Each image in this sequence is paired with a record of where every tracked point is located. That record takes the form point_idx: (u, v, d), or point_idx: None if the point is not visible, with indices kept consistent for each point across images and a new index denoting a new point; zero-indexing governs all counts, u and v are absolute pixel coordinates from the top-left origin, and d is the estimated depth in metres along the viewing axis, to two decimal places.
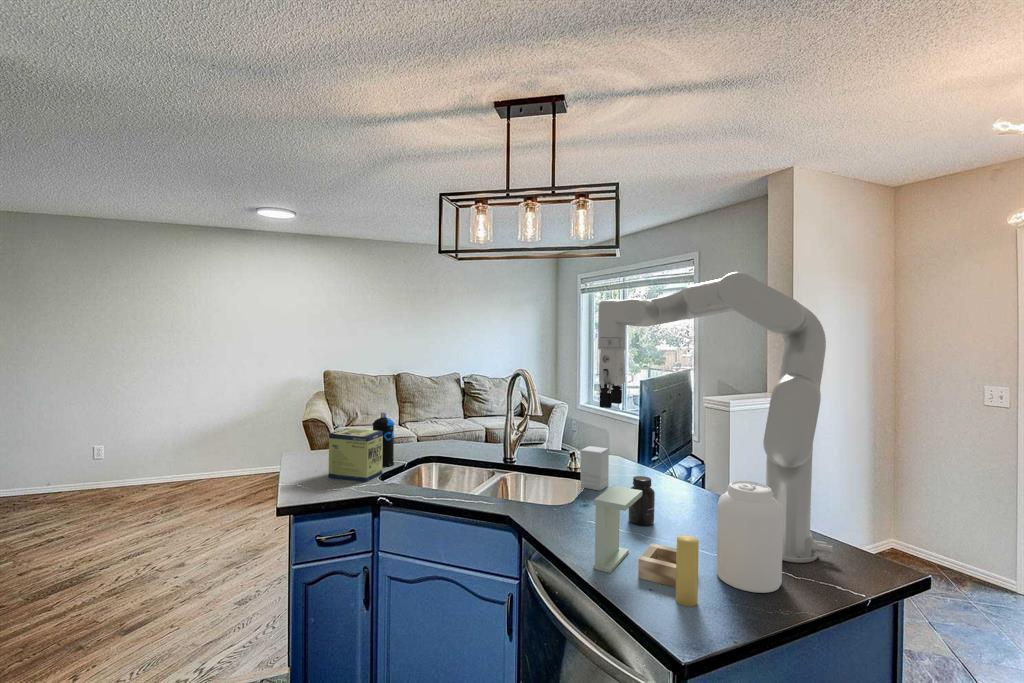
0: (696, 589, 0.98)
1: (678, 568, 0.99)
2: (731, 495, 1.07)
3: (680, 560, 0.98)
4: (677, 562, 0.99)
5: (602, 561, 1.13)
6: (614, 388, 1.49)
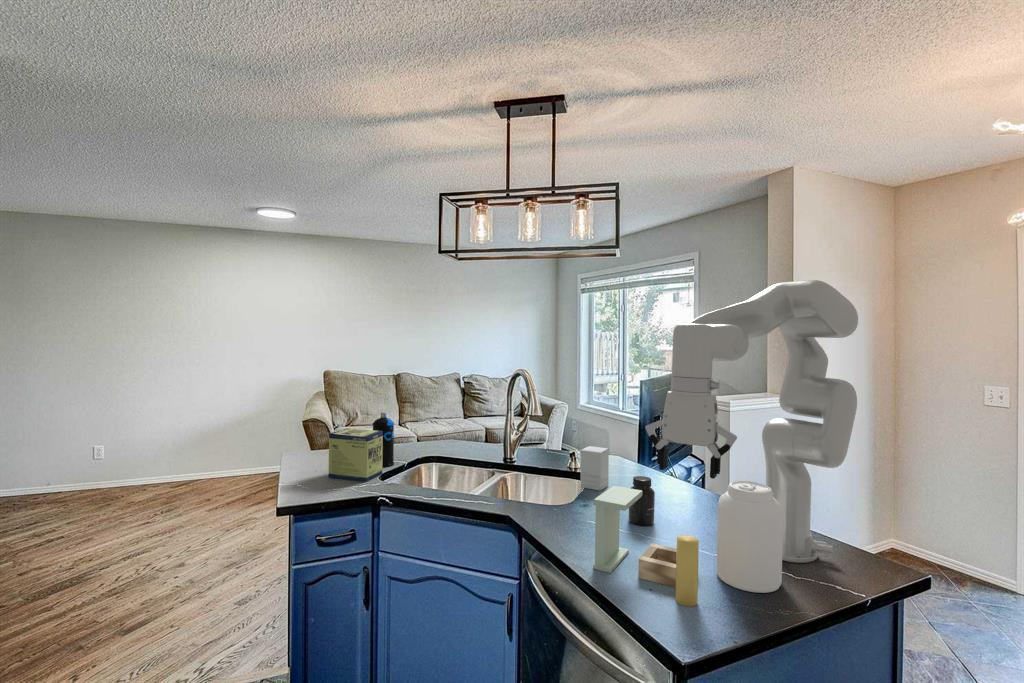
0: (696, 589, 0.98)
1: (678, 568, 0.99)
2: (731, 495, 1.07)
3: (680, 560, 0.98)
4: (677, 562, 0.99)
5: (602, 561, 1.13)
6: (664, 448, 1.04)
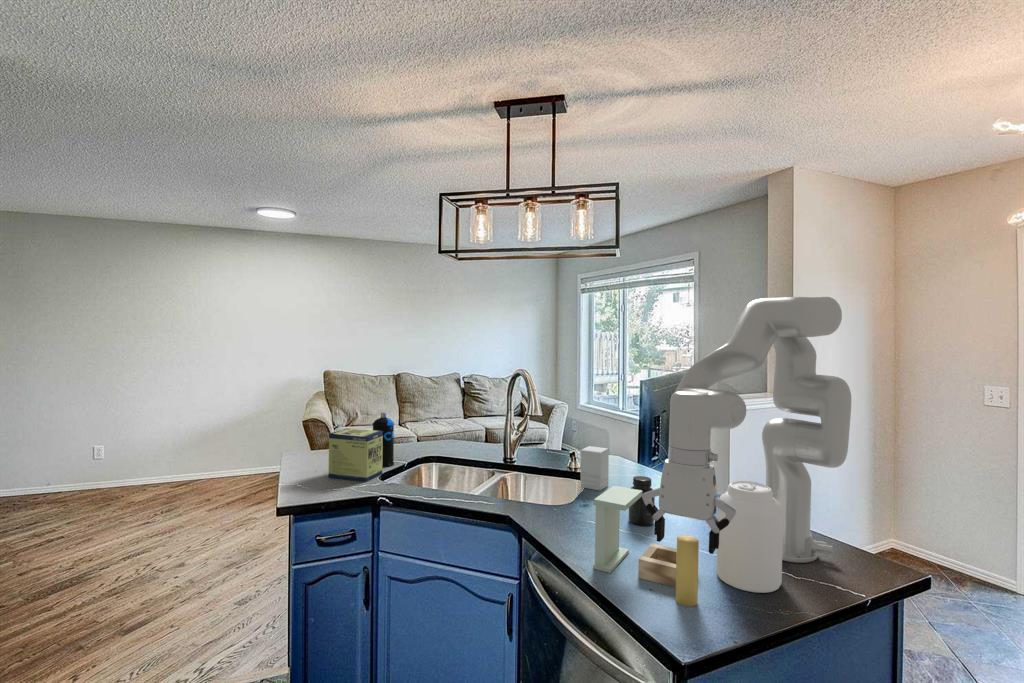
0: (696, 589, 0.98)
1: (678, 568, 0.99)
2: (731, 495, 1.07)
3: (680, 560, 0.98)
4: (677, 562, 0.99)
5: (602, 561, 1.13)
6: (661, 518, 1.01)
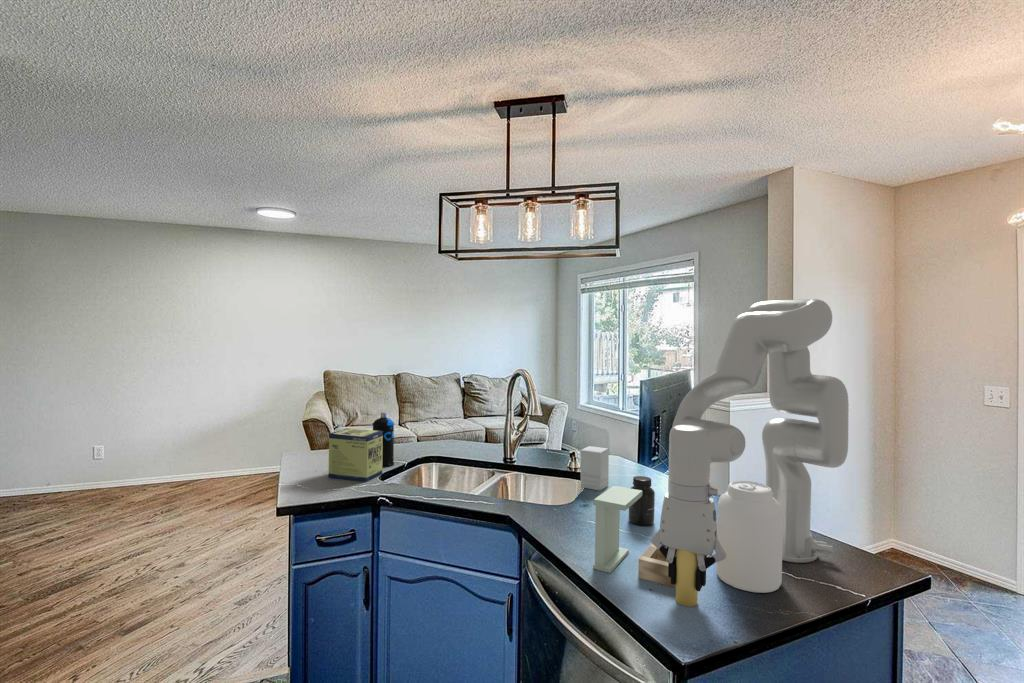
0: None
1: (678, 568, 0.99)
2: (731, 495, 1.08)
3: (680, 560, 0.98)
4: (677, 562, 0.99)
5: (602, 561, 1.13)
6: (675, 561, 1.00)
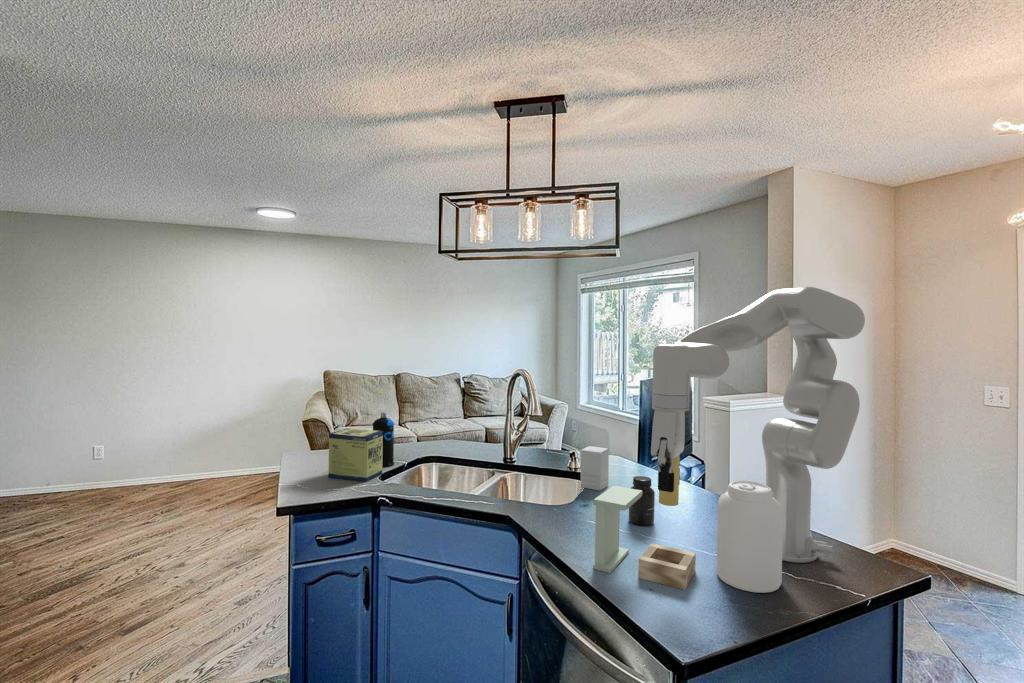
0: None
1: (675, 474, 1.08)
2: (731, 495, 1.07)
3: (676, 465, 1.08)
4: (673, 469, 1.08)
5: (602, 561, 1.13)
6: None
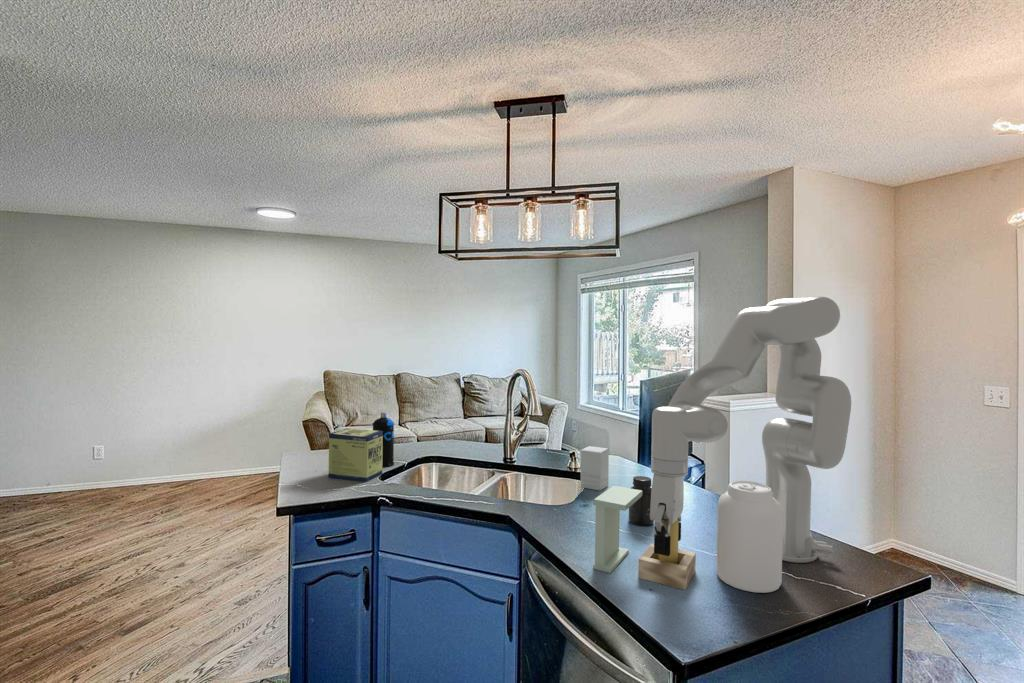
0: None
1: (674, 547, 1.09)
2: (731, 495, 1.07)
3: (675, 538, 1.09)
4: (672, 542, 1.09)
5: (602, 561, 1.13)
6: None
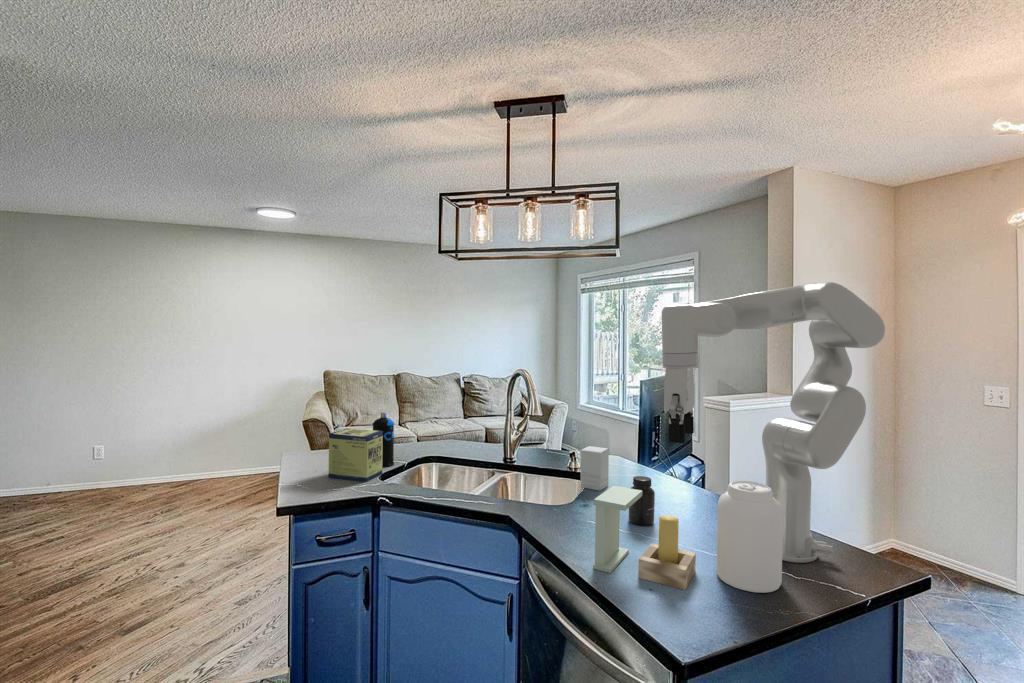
0: None
1: (674, 547, 1.09)
2: (731, 495, 1.07)
3: (675, 538, 1.09)
4: (672, 542, 1.09)
5: (602, 561, 1.13)
6: None
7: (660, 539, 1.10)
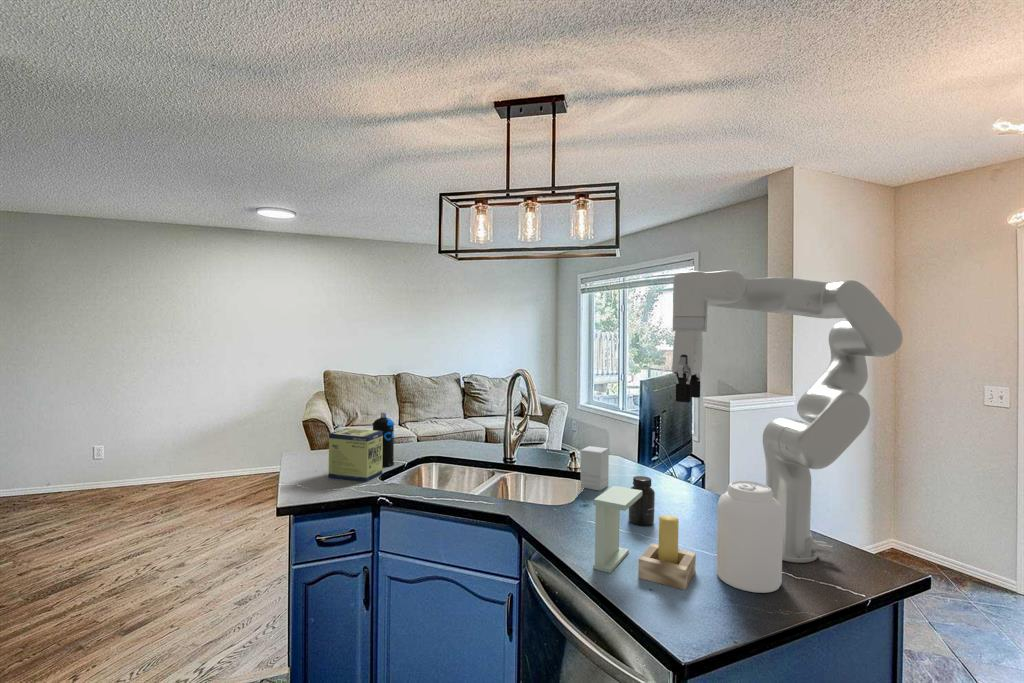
0: None
1: (674, 547, 1.09)
2: (731, 495, 1.07)
3: (675, 538, 1.09)
4: (672, 542, 1.09)
5: (602, 561, 1.13)
6: None
7: (660, 539, 1.10)
